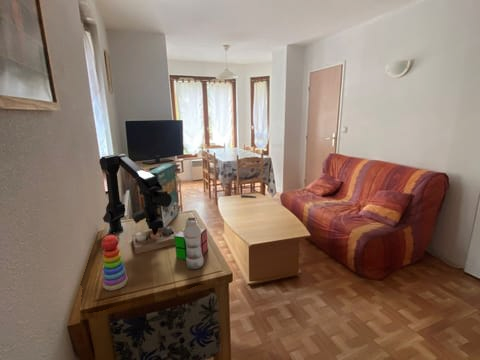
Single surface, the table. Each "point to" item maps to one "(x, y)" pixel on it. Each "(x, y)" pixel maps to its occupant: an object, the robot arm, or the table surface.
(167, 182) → the cake mix box
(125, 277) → the stacking toy
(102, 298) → the table surface
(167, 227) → the charcoal button
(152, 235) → the terracotta button
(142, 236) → the cream button
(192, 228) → the plastic bottle
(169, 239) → the panel
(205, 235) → the puzzle cube
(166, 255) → the table surface
